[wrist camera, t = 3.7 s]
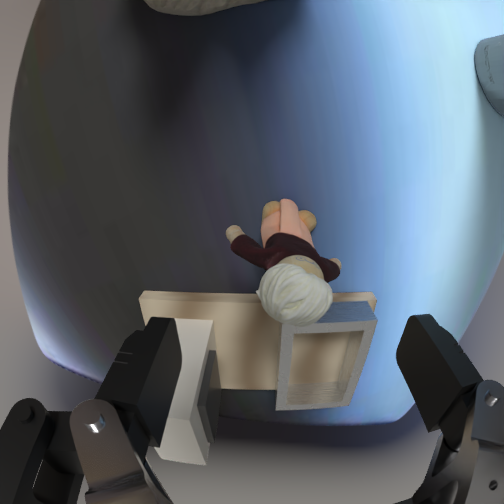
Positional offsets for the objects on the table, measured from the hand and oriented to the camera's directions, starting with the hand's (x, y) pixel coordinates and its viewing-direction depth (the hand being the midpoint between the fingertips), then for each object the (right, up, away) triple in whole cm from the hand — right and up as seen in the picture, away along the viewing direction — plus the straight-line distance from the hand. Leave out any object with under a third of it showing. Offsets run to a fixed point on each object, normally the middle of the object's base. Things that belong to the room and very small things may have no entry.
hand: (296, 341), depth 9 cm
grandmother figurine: (+1, +6, +14) cm, 15 cm away
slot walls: (+5, -7, +18) cm, 19 cm away
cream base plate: (-1, -6, +19) cm, 20 cm away
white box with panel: (-7, -7, +18) cm, 20 cm away
